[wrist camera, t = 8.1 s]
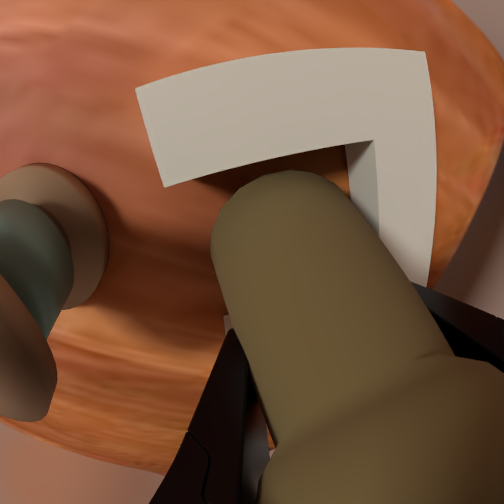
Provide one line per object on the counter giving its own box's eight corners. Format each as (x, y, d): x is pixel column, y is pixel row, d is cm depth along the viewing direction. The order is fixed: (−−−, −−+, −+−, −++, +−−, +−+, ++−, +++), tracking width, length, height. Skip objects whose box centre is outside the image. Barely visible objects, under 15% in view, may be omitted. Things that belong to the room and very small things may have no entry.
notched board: (396, 306, 16) (416, 332, 14) (239, 355, 16) (244, 390, 14) (389, 56, 9) (425, 52, 7) (150, 92, 9) (135, 88, 7)
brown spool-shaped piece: (133, 281, 13) (94, 425, 6) (33, 308, 12) (-20, 414, 6) (75, 136, 9) (-63, 197, 3) (-23, 197, 9) (-120, 274, 3)
